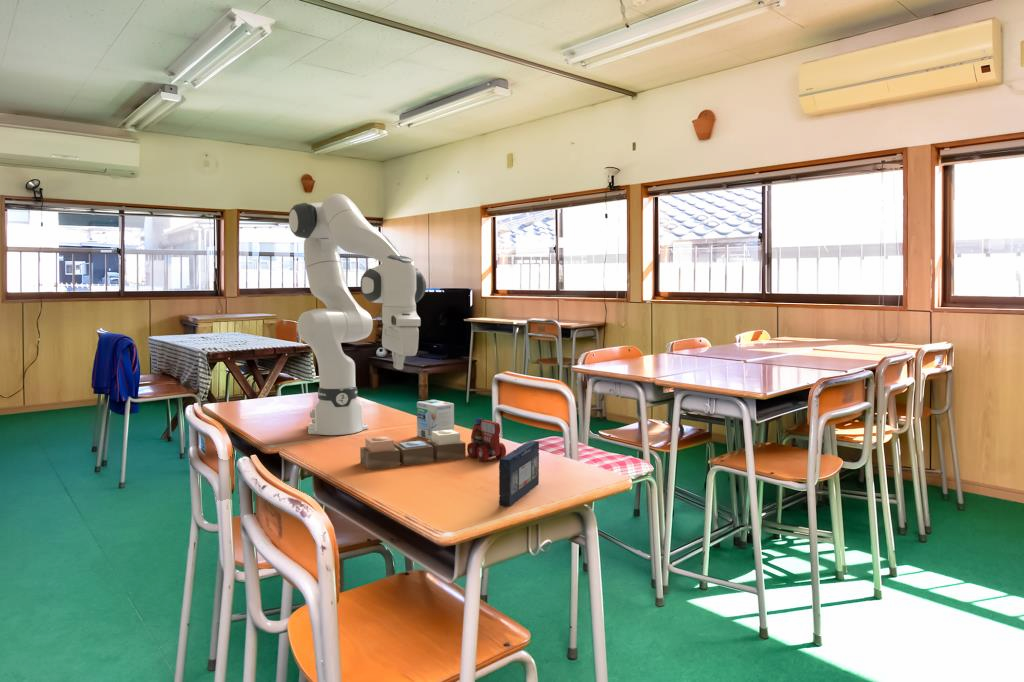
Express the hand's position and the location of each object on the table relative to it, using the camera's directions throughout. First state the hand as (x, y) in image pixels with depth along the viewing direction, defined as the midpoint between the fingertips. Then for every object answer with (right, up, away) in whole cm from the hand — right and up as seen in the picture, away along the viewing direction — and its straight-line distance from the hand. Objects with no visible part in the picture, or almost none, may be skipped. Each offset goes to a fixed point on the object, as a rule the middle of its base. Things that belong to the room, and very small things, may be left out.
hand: (398, 368), depth 182 cm
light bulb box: (+7, -22, +24) cm, 33 cm away
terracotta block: (-3, -22, -8) cm, 23 cm away
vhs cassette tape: (+32, -26, -34) cm, 54 cm away
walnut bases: (+5, -24, -4) cm, 24 cm away
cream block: (+13, -21, 0) cm, 24 cm away
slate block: (+5, -23, -4) cm, 24 cm away
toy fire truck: (+23, -24, -1) cm, 33 cm away
